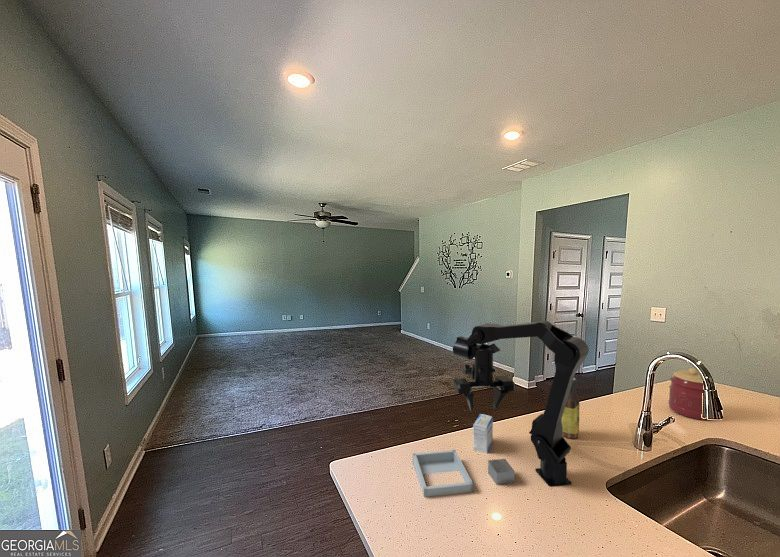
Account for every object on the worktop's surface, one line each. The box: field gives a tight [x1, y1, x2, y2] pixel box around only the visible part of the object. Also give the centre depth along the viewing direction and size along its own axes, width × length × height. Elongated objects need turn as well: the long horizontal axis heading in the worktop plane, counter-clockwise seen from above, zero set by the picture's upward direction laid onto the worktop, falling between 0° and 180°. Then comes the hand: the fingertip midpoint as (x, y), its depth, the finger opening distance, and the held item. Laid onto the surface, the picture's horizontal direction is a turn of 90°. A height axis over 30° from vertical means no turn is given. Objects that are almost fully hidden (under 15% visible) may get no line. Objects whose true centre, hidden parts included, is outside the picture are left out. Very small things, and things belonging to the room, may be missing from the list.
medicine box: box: [472, 413, 494, 454], centre depth 98 cm, size 8×4×9 cm, turn 149°
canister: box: [668, 367, 717, 421], centre depth 118 cm, size 13×13×18 cm
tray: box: [412, 449, 475, 498], centre depth 83 cm, size 14×13×4 cm
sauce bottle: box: [561, 377, 580, 439], centre depth 104 cm, size 6×6×20 cm
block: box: [487, 458, 516, 486], centre depth 82 cm, size 5×5×4 cm
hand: (483, 410), depth 98 cm, fingers open, 8 cm apart
